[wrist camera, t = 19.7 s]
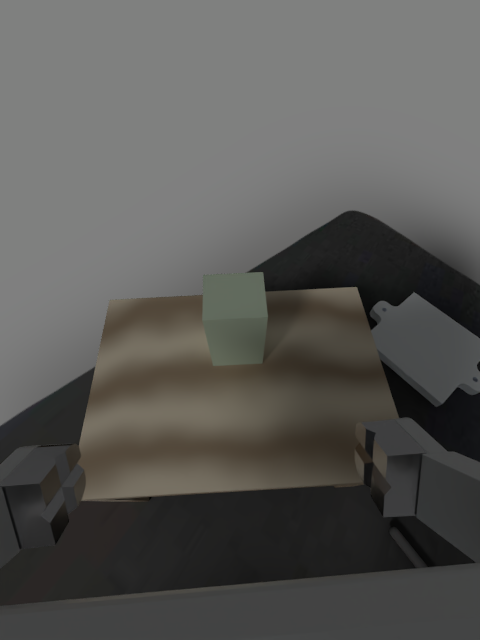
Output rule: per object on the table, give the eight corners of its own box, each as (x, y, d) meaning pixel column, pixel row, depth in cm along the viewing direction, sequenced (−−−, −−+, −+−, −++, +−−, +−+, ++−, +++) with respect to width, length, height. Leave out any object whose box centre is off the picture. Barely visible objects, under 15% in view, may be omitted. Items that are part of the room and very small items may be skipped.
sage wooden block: (262, 363, 27) (268, 317, 21) (213, 366, 27) (202, 320, 21) (258, 325, 30) (262, 272, 23) (213, 327, 29) (203, 274, 23)
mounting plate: (346, 332, 48) (350, 326, 46) (395, 289, 52) (400, 282, 50) (451, 422, 40) (460, 419, 39) (499, 364, 44) (509, 359, 43)
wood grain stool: (353, 488, 36) (418, 478, 22) (135, 501, 36) (67, 500, 22) (323, 352, 45) (356, 286, 32) (150, 361, 45) (109, 299, 31)
